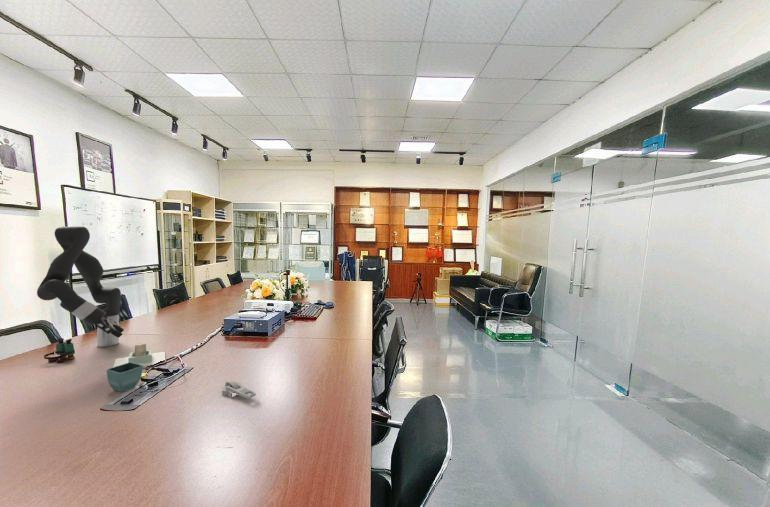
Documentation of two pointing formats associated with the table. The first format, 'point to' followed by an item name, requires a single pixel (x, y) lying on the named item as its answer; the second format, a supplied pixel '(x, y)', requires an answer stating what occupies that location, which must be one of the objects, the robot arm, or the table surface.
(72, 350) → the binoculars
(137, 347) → the beige upright block
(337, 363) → the table surface
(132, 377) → the flower pot
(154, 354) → the holder
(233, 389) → the zipper pull
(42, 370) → the table surface
